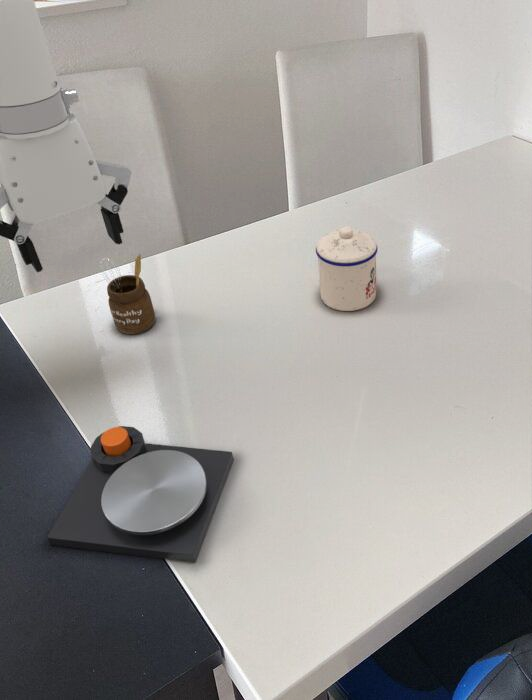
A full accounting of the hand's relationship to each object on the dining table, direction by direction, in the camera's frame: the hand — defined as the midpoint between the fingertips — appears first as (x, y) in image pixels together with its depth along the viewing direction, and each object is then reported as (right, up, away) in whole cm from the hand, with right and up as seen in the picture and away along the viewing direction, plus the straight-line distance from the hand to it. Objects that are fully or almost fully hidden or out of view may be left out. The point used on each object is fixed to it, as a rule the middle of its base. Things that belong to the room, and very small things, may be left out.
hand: (77, 252), depth 82 cm
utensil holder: (+1, -8, +20) cm, 21 cm away
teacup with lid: (+33, -2, +25) cm, 41 cm away
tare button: (+6, -23, -3) cm, 24 cm away
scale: (+10, -28, -6) cm, 31 cm away
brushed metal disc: (+12, -27, -9) cm, 31 cm away
